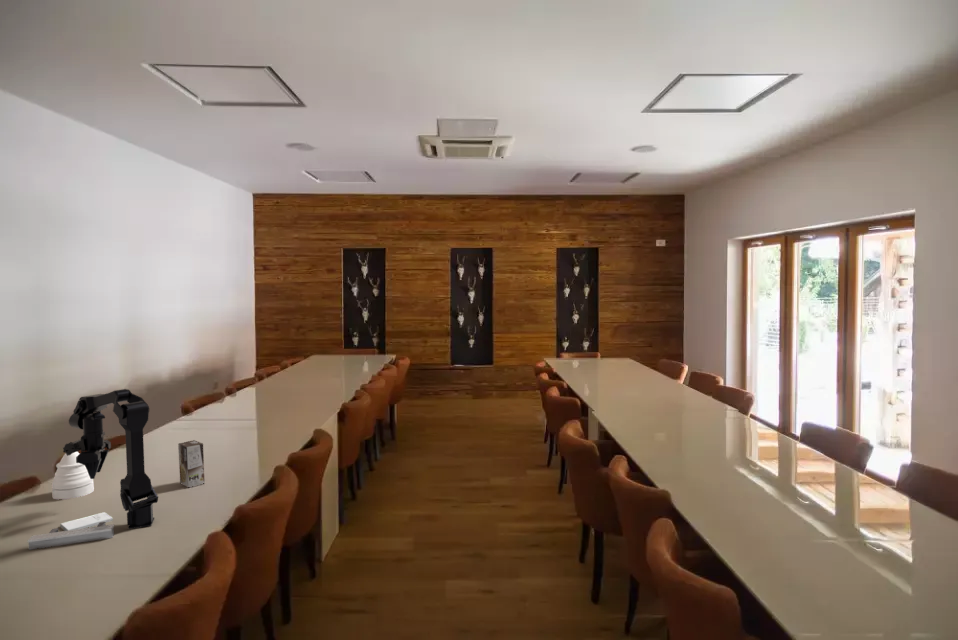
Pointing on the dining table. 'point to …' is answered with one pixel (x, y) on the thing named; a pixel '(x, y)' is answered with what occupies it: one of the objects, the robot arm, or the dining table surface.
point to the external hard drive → (86, 521)
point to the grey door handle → (71, 536)
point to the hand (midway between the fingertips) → (95, 475)
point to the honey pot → (71, 479)
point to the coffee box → (191, 463)
